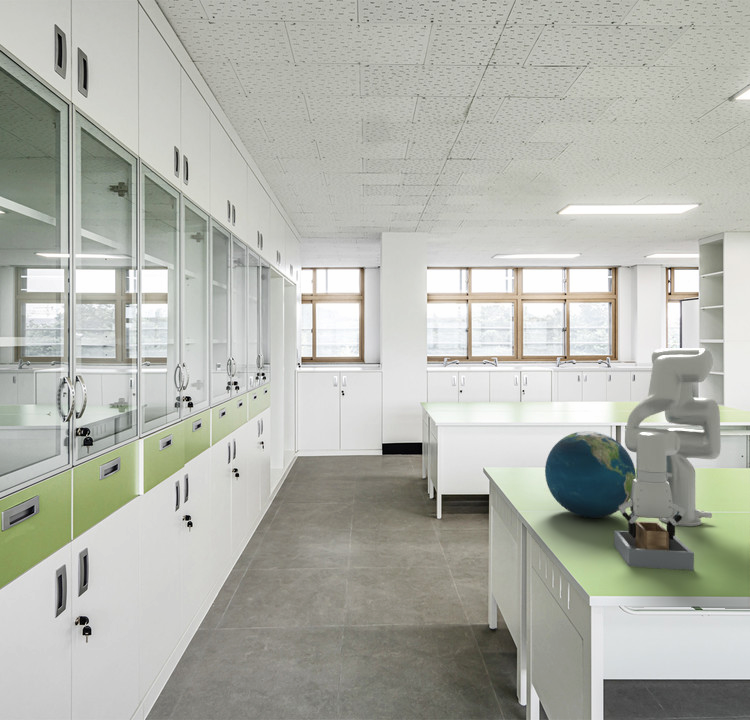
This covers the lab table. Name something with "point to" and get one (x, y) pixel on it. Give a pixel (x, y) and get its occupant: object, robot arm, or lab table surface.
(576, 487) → the globe
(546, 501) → the lab table surface
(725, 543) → the lab table surface
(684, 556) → the shallow gray tray
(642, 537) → the small crate
